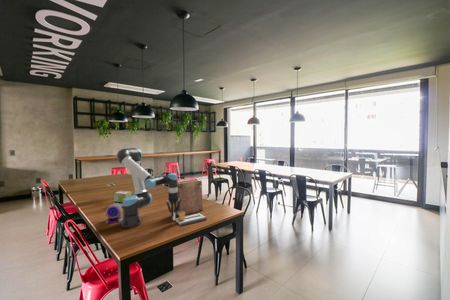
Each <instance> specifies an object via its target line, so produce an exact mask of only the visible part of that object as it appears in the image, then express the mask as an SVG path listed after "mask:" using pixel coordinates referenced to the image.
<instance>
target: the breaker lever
mask: <svg viewBox="0 0 450 300" xmlns="http://www.w3.org/2000/svg"><path fill="white" fill-rule="evenodd" d="M178 217H179V220H185V212H183V211H180V212H179V216H178Z"/></svg>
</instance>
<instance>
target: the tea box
mask: <svg viewBox="0 0 450 300" xmlns="http://www.w3.org/2000/svg"><path fill="white" fill-rule="evenodd" d="M131 195H133V194H132V191H126V190H119V191H116V192H113V199H114V200H113V202H114V203H113V204H118V205H120V206H121V207H122V208H123V199H124V198H125V197H127V196H131Z"/></svg>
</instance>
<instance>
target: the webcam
mask: <svg viewBox="0 0 450 300" xmlns="http://www.w3.org/2000/svg"><path fill="white" fill-rule="evenodd" d="M121 215H123V207H121V206H120V205H118V204H114V203H112V204H109V206H107V208H106V209H105V216H106V217H107V219H106V220H105V223H106V224H115V223H120V222H122V220H123V216H121Z"/></svg>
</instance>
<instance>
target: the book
mask: <svg viewBox="0 0 450 300" xmlns="http://www.w3.org/2000/svg"><path fill="white" fill-rule="evenodd" d="M202 183H203V182H202V180H197V179H196V178H195V179H190V180H183V181H177V186H178V191H177V192H178V198H179V199H181V201H180V205H179V210H178V211H177V212H176V216H177V217H179V212H180V211H183V212H185V215H189V214H193V213H199V212H202V211H203V184H202ZM177 203H178V200H177V202H176V208H177Z"/></svg>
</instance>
